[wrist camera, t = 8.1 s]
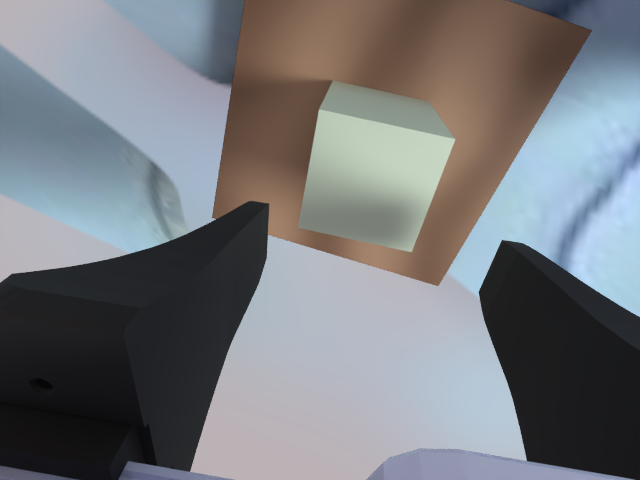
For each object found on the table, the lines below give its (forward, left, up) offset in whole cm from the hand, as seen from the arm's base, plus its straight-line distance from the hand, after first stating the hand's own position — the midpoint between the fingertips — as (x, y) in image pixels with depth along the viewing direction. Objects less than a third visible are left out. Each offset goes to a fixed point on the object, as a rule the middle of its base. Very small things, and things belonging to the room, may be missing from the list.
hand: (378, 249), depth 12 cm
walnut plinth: (+1, -1, -10) cm, 10 cm away
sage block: (+1, -1, -8) cm, 8 cm away
